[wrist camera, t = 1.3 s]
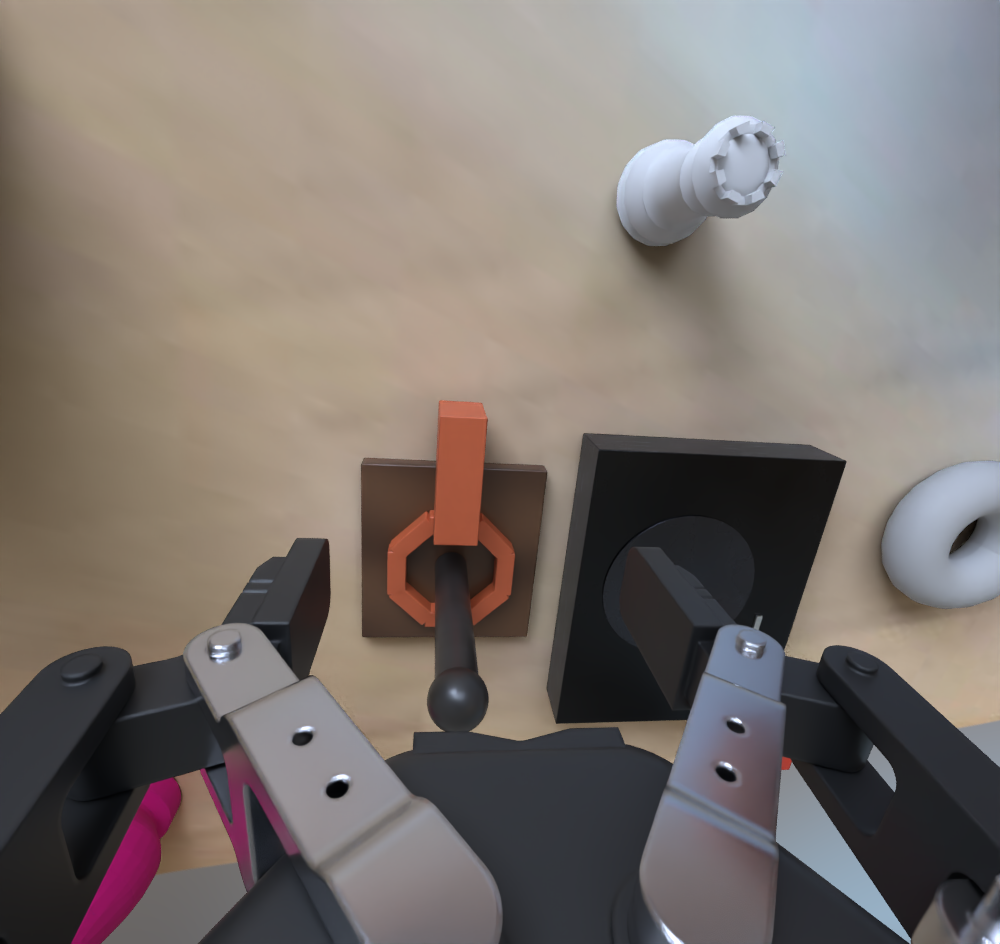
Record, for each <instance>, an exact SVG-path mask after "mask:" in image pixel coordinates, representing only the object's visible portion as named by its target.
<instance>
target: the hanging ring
mask: <svg viewBox="0 0 1000 944" xmlns="http://www.w3.org/2000/svg"><path fill="white" fill-rule="evenodd" d="M487 421H488V419H487V416H486V413H485V411H484V408H483V405H482V403H474V402H457V401H439V413H438V435H437V457H436V479H435V501H434V510H430V511H429V513H428V512H427V511H426V512H424V513H423V514H422V515H421V516H420V517H419V518H417V519H416V520H415V521H414V522H413V523H411V524H410V525H409V526H408V527H407V528H405V529H404V530H403V531H402V532H401V533H400V534H398V535H397V536H396V537H395V538H394V539H392V540H391V544H389V548H388V561H387V594H388V595H389V597H390V599H392V600H393V601H394V602H395V603H396V604H397V605H399V606H400V607H401V608H402V609H403V610H404V611H406V612H407V613H408V614H409V615H410V616H411V617H413V618H414V619H415V620H416V621H417V622H418V623H420V624H421V625H423V624H424V623H425V627H435V603H430V602H429V601H428V600H427V599H426V598H424V597H423V596H422V595H421V594H420V593H419V592H418V591H416V590H415V589H414V588H413V587H412V586H411V585H410V584H409V583H407V582H406V571H407V556H408V555H409V554H410V553H412V552H413V551H414V550H415V549H416V548H418V547H419V546H420V545H421V544H422V543H424V542H425V541H426V540H427V539H428V538H430V537H431V536H432V535H433V534H434V545H465V546H477V545H478V540H479V541H480V542H481V543H482V544H483V545H484V546H485V547H486V548H487V549H488V550H489V551H490V552H491V553H492V554H493V555H494V556H495V561H494V572H493V582H492V583H491V584H490V585H488V586H487V587H486V588H485V589H483V590H482V591H481V592H479V593H478V594H477V595H476V596H474V597H473V598H472V599H471V600H470V601H471V611H472V620H473V625H475V624H477V623H478V622H479V621H481V620H482V619H483V618H484V617H486V616H487V615H488V614H489V613H491V612H492V611H493V610H495V609H496V608H497V607H498V606H500V605H501V604H502V603H503V602H505V601H506V600H507V599H508V598H509V596H508V595H511V589H512V580H513V571H514V561H515V552H514V549H513V546H512V543H511V542H510V541H509V540H508V539H507V538H506V537H505V536H504V535H503V534H502V533H501V532H500V531H499V530H498V529H497V528H496V527H495V526H494V525H493V524H492V523H491V522H490V521H489V519H488V518H487V517H486V516H485V515H484V514H483V513H480V509H481V497H482V484H483V471H484V459H485V446H486V433H487Z"/></svg>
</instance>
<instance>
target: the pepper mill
mask: <svg viewBox="0 0 1000 944" xmlns="http://www.w3.org/2000/svg"><path fill="white" fill-rule="evenodd" d="M180 802H181V791H180V788H179V785H178V783H177V782H176V781H175V779H174V778H173V777H172V778H169V779H165V780H162V781H159V782H155V783H152V784H150V786H149V788H148V790H147V792H146V794H145V796H144V798H143V800H142V802H141V804H140V806H139V808H138V810H137V812H136V814H135V816H134V818H133V820H132V822H131V824H130V826H129V828H128V830H127V832H126V834H125V836H124V838H123V840H122V842H121V845H120V847H119V849H118V851H117V853H116V855H115V857H114V859H113V861H112V863H111V865H110V867H109V869H108V871H107V873H106V875H105V877H104V879H103V881H102V883H101V885H100V887H99V889H98V891H97V893H96V895H95V897H94V899H93V901H92V903H91V905H90V907H89V909H88V911H87V913H86V915H85V917H84V919H83V921H82V923H81V925H80V927H79V929H78V931H77V933H76V935H75V937H74V939H73V941H72V943H71V944H101V943H102V942H103V941H104V940H105V939H106V938H107V937H108V936H109V934H111V933H112V932H113V931H114V930H115V929H116V928H117V927H118V926H119V925H120V923H121V922H122V921H123V920H124V919H125V918H126V917H127V916H128V914H129V913H130V912H131V911H132V910H133V908H134V907H135V906H136V904H137V903H138V902H139V901H140V899H141V898H142V897H143V895H144V893H145V891H146V890H147V888H148V886H149V885H150V883H151V881H152V880H153V878H154V876H155V874H156V872H157V870H158V867H159V864H160V861H161V843H160V838H161V837H162V836H163V835H164V834H165V833H166V832H167V830H168V828H169V826H170V824H171V822H172V820H173V818H174V816H175V814H176V812H177V810H178V808H179V805H180Z"/></svg>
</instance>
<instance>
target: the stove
mask: <svg viewBox="0 0 1000 944" xmlns="http://www.w3.org/2000/svg"><path fill="white" fill-rule="evenodd" d="M845 465H846V461H845V460H843V459H841V458H838V457H836V456H834V455H832V454H829V453H827V452H825V451H823V450H820V449H818V448H816V447H814V446H811V445H802V444H783V443H763V442H744V441H725V440H705V439H686V438H667V437H647V436H628V435H609V434H589V433H584V434H583V441H582V447H581V454H580V461H579V468H578V475H577V482H576V489H575V496H574V503H573V509H572V516H571V523H570V530H569V537H568V544H567V551H566V558H565V565H564V571H563V578H562V585H561V592H560V599H559V606H558V613H557V620H556V627H555V634H554V640H553V647H552V654H551V661H550V668H549V675H548V682H547V692H548V696H549V700H550V703H551V707H552V711H553V714H554V718H555V722H556V724H560V723H595V722H631V721H666V720H688V717H689V714H690V711H691V710H676V711H672V709H671V707H670V705H669V703H668V701H667V700H666V698H665V696H664V694H663V692H662V690H661V689H660V687H659V685H658V683H657V681H656V679H655V678H654V676H653V674H652V672H651V670H650V668H649V667H648V665H647V663H646V661H645V659H644V658H643V656H642V654H641V652H640V650H639V648H638V647H636V646H634V645H632V644H630V643H628V642H627V641H625V640H624V639H622V638H621V637H620V636H619V635H618V634H617V633H616V632H615V631H614V629H613V628H612V627H611V625H610V623H609V621H608V620H607V617H606V614H605V611H604V606H603V586H604V582H605V578H606V575H607V573H608V570H609V568H610V566H611V564H612V562H613V561H614V559H615V558H616V556H617V555H618V553H619V552H620V551H621V550H622V549H623V547H624V546H625V545H626V544H627V543H628V542H629V541H630V540H632V539H633V538H634V537H635V536H636V535H638V534H639V533H641V532H642V531H644V530H645V529H647V528H649V527H651V526H653V525H655V524H657V523H659V522H662V521H664V520H668V519H672V518H676V517H682V516H705V517H710V518H714V519H717V520H719V521H722V522H724V523H726V524H728V525H729V526H731V527H732V528H734V529H735V530H736V531H737V532H739V533H740V535H741V536H742V537H743V538H744V539H745V541H746V542H747V544H748V546H749V548H750V550H751V553H752V556H753V560H754V569H755V573H754V582H753V586H752V590H751V593H750V595H749V598H748V600H747V602H746V604H745V606H744V607H743V609H742V610H741V612H740V613H739V614H738V616H737V617H736V618H735V619H734V621H735V623H736V624H737V625H743V626H748V627H751V628H754V629H757V630H759V631H761V632H763V633H765V634H767V635H769V636H770V637H772V638H773V639H774V640H776V641H777V642H778V643H779V644H780V645H781V646H782V648H783V650H784V649H785V646H786V643H787V640H788V637H789V634H790V631H791V628H792V625H793V622H794V619H795V616H796V613H797V610H798V607H799V604H800V601H801V598H802V595H803V592H804V589H805V586H806V583H807V580H808V577H809V574H810V571H811V568H812V565H813V562H814V559H815V556H816V553H817V550H818V547H819V544H820V541H821V538H822V535H823V532H824V529H825V526H826V523H827V519H828V516H829V513H830V510H831V507H832V504H833V501H834V498H835V495H836V492H837V489H838V486H839V483H840V480H841V477H842V474H843V471H844V468H845Z"/></svg>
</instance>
